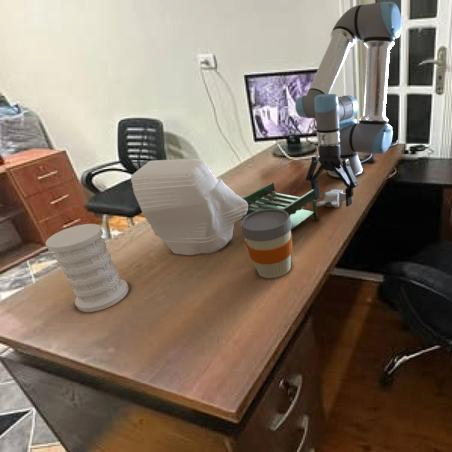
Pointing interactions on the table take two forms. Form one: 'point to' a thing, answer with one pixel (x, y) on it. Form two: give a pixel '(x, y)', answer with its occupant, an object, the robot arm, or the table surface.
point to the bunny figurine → (332, 198)
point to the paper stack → (187, 205)
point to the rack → (292, 208)
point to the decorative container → (88, 267)
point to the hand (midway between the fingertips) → (332, 201)
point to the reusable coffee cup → (269, 241)
